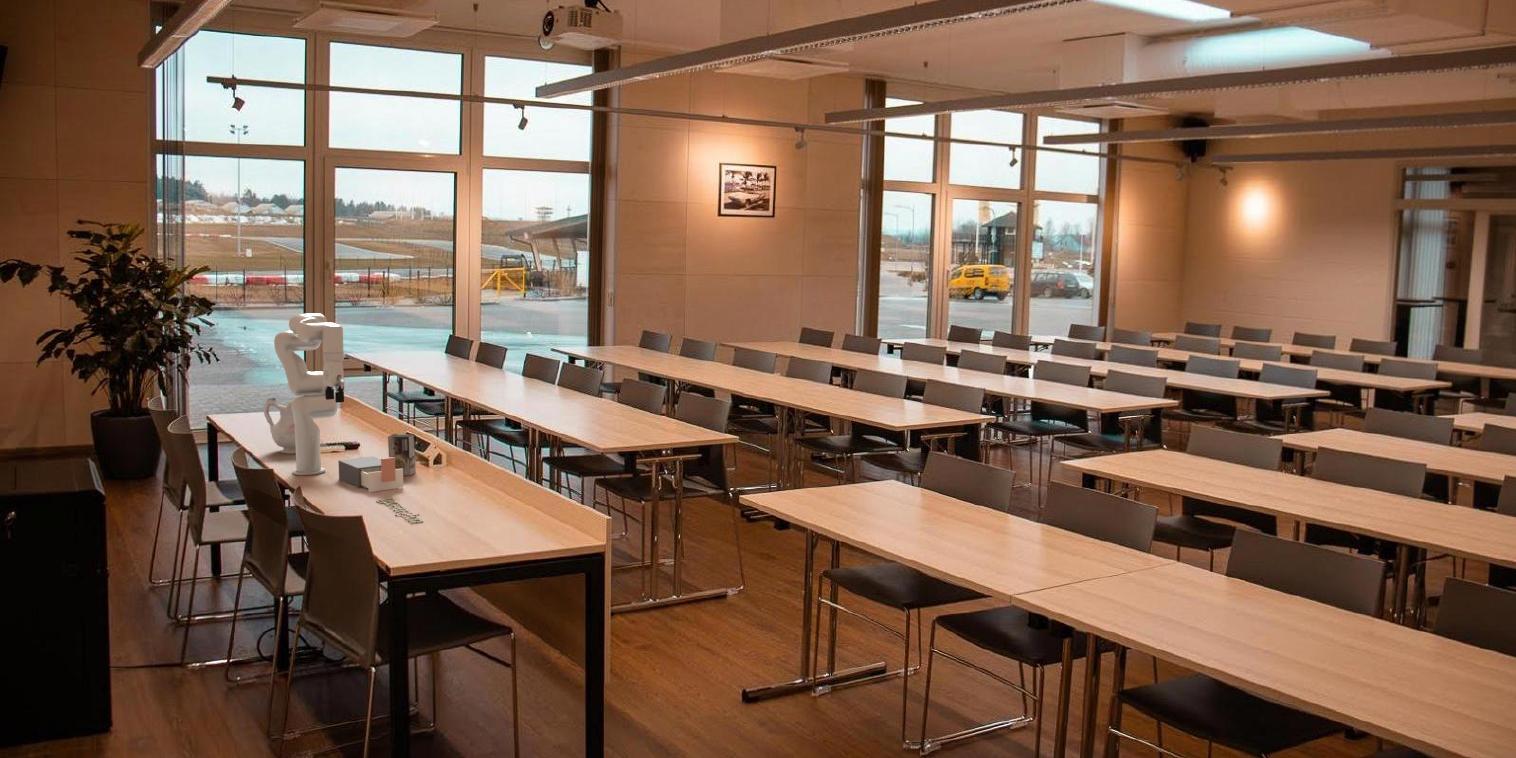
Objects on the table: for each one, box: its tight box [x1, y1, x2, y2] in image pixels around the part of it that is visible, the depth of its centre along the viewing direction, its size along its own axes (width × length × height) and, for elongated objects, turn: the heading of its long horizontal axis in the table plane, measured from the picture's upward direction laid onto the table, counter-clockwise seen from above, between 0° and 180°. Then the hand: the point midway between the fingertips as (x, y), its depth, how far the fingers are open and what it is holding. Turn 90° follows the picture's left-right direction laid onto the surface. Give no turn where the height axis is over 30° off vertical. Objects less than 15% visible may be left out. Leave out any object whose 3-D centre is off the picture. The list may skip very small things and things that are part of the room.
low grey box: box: [337, 455, 382, 489], centre depth 475 cm, size 19×14×8 cm
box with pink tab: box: [360, 457, 404, 493], centre depth 466 cm, size 21×14×13 cm, turn 41°
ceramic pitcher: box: [263, 397, 296, 455], centre depth 534 cm, size 22×20×25 cm
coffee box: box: [387, 433, 417, 476], centre depth 490 cm, size 9×6×16 cm
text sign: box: [375, 498, 425, 524], centre depth 428 cm, size 40×1×8 cm
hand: (334, 400), depth 465 cm, fingers open, 9 cm apart
